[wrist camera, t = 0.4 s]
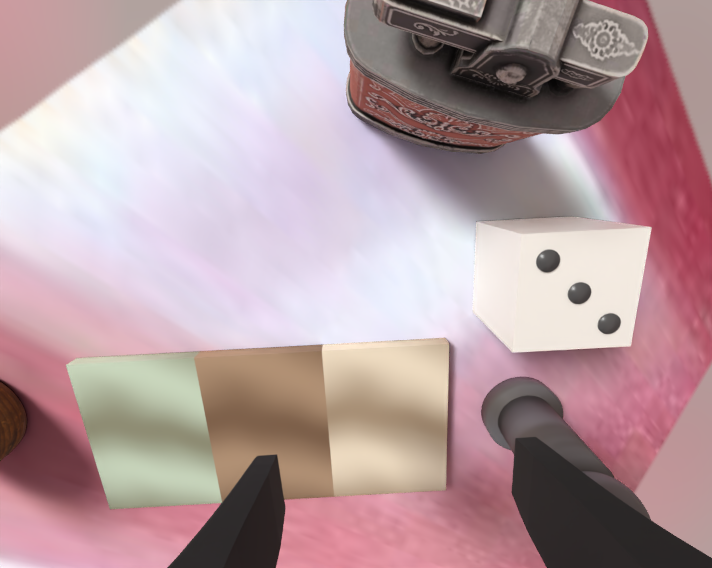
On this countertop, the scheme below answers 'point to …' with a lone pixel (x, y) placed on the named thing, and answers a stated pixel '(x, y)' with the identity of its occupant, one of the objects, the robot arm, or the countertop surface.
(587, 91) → the lighter
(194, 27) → the countertop surface
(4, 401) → the utensil holder
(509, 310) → the die
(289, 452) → the board
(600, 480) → the pawn
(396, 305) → the countertop surface
